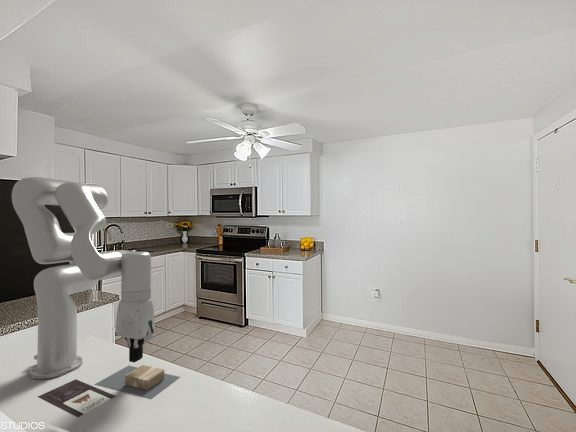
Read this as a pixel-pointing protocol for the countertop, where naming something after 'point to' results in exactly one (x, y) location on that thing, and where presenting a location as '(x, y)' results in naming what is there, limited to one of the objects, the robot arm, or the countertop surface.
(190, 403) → the countertop surface
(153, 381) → the wooden block
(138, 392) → the mat
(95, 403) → the chocolate bar
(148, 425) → the countertop surface
